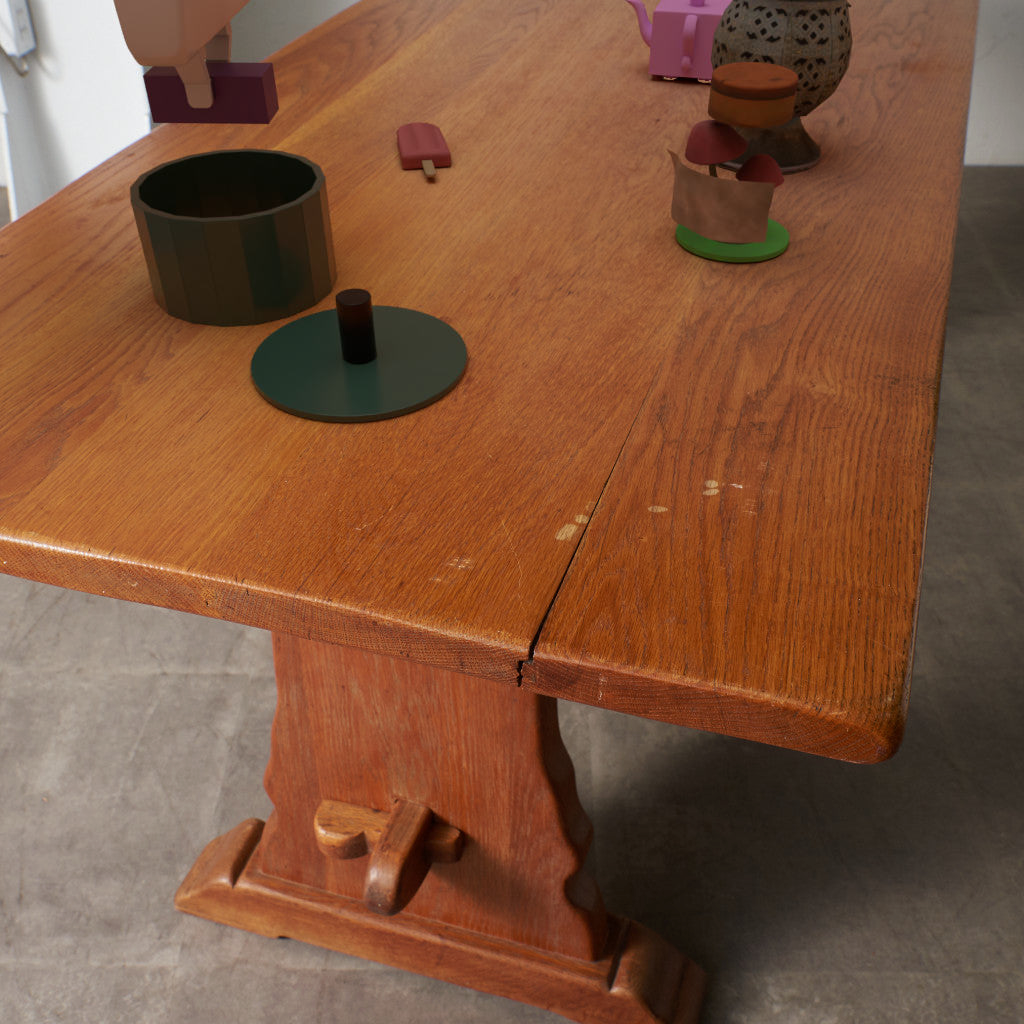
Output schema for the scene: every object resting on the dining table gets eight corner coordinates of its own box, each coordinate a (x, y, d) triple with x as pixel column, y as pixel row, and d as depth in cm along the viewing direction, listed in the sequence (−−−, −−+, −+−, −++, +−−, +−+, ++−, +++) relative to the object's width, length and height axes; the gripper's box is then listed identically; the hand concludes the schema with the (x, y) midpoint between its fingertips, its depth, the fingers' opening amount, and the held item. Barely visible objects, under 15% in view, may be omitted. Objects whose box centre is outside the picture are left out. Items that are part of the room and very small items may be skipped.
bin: (131, 331, 82) (101, 220, 76) (186, 248, 94) (164, 147, 88) (318, 334, 82) (303, 223, 76) (350, 251, 94) (338, 149, 88)
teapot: (609, 82, 134) (614, -1, 127) (628, 54, 144) (634, -25, 137) (746, 93, 130) (759, 8, 123) (756, 63, 140) (768, -17, 134)
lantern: (727, 123, 121) (760, -120, 105) (844, 145, 115) (897, -109, 99) (679, 159, 112) (706, -102, 96) (803, 185, 106) (854, -88, 90)
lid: (228, 427, 72) (211, 351, 68) (279, 316, 84) (267, 246, 80) (458, 432, 71) (455, 356, 67) (474, 319, 84) (472, 249, 80)
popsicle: (405, 170, 105) (393, 123, 117) (406, 185, 106) (394, 136, 118) (456, 166, 106) (439, 120, 117) (456, 181, 107) (439, 133, 118)
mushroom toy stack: (692, 203, 102) (710, 45, 93) (811, 231, 97) (843, 67, 88) (637, 245, 95) (651, 78, 85) (764, 278, 89) (793, 104, 80)
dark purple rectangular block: (153, 123, 77) (142, 75, 75) (167, 108, 80) (157, 61, 78) (269, 124, 77) (261, 76, 75) (279, 109, 80) (272, 62, 78)
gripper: (173, -136, 77) (208, 56, 86) (73, -90, 61) (128, 140, 70) (255, -136, 77) (282, 56, 86) (175, -89, 61) (218, 141, 70)
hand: (212, 95), depth 78 cm, fingers closed on dark purple rectangular block, 3 cm apart
